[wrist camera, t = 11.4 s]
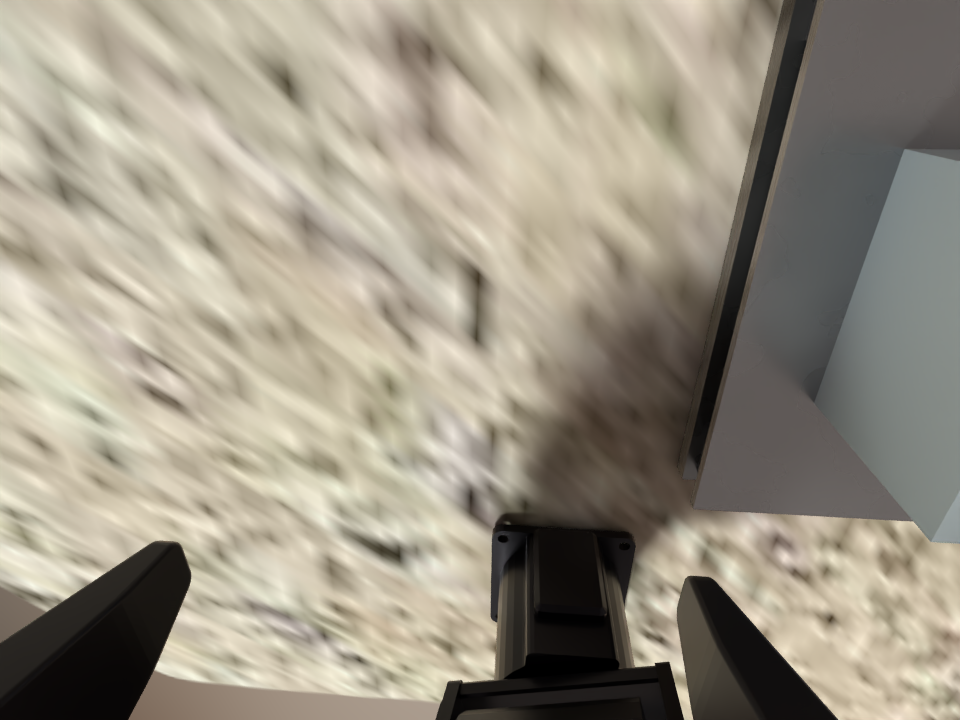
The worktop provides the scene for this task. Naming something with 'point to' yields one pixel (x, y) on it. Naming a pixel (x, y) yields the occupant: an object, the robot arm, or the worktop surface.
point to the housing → (907, 347)
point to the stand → (813, 249)
